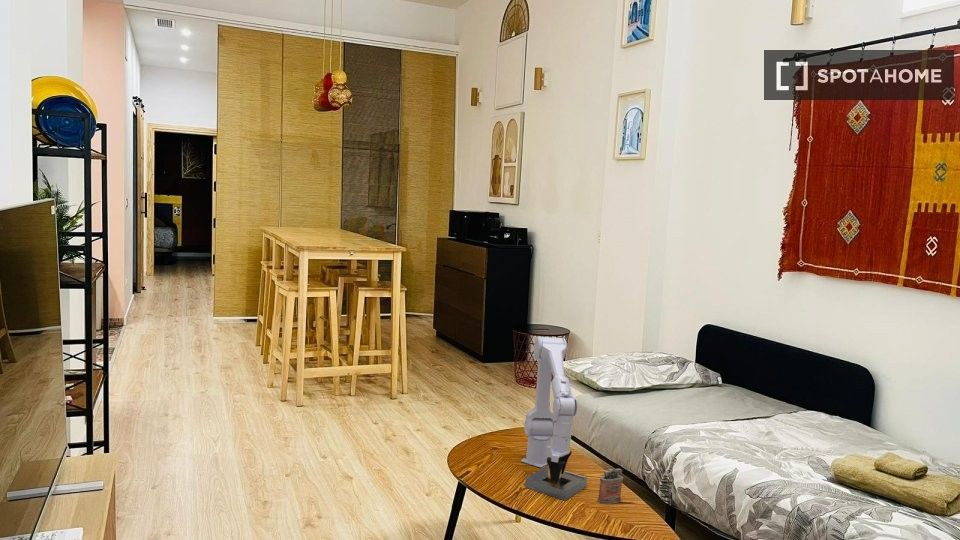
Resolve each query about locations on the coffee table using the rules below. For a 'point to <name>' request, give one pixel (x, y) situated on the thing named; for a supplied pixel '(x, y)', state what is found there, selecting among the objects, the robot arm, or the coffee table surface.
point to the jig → (567, 488)
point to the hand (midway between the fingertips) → (557, 477)
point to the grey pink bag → (610, 487)
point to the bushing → (552, 481)
